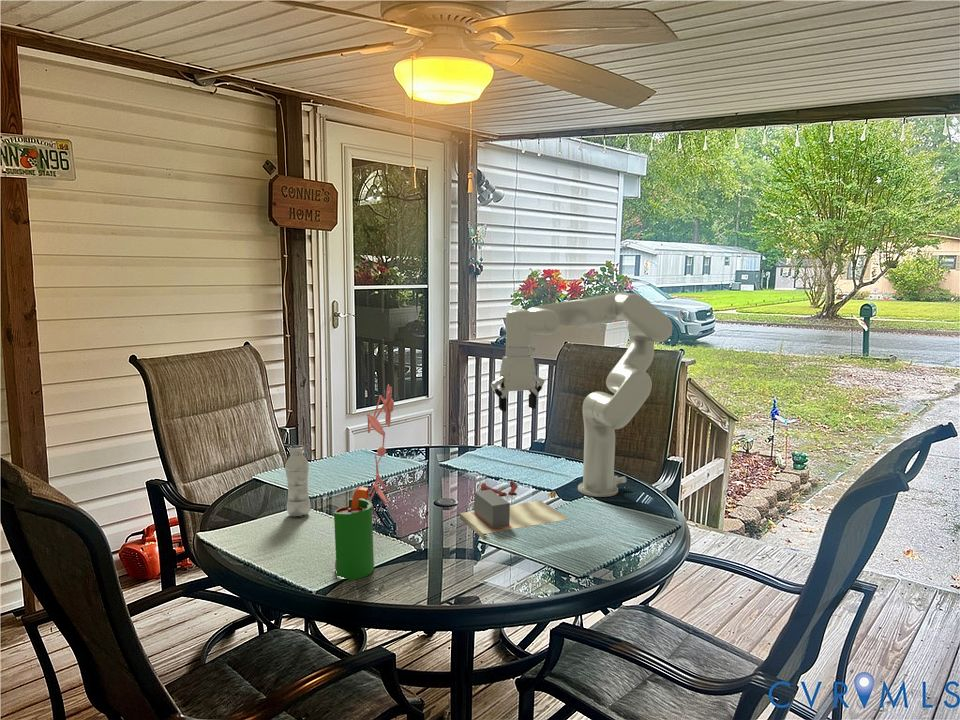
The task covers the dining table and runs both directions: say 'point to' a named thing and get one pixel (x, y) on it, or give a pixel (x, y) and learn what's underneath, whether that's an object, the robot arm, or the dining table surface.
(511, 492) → the pliers
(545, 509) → the board
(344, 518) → the green cylindrical container
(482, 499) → the block
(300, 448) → the plastic bottle
